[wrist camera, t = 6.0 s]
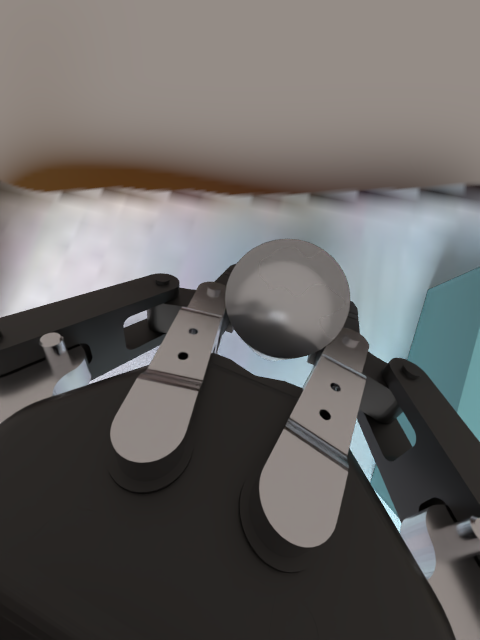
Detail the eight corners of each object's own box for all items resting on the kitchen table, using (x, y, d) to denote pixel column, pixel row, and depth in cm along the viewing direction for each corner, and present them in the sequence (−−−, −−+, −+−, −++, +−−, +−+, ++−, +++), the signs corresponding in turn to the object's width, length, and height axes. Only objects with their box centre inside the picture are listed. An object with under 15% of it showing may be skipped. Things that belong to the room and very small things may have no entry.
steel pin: (240, 349, 17) (206, 331, 7) (258, 302, 17) (250, 224, 8) (290, 368, 16) (326, 378, 7) (307, 319, 17) (366, 260, 7)
